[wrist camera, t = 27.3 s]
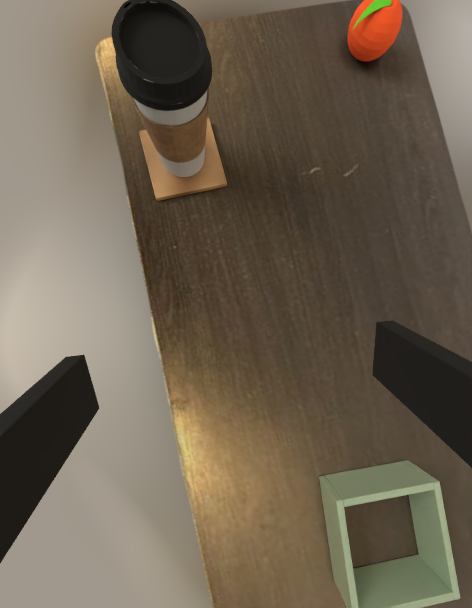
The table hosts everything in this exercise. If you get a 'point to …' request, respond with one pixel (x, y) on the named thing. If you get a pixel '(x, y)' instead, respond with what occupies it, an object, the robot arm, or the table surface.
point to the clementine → (374, 28)
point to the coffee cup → (166, 78)
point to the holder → (400, 572)
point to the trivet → (180, 186)
